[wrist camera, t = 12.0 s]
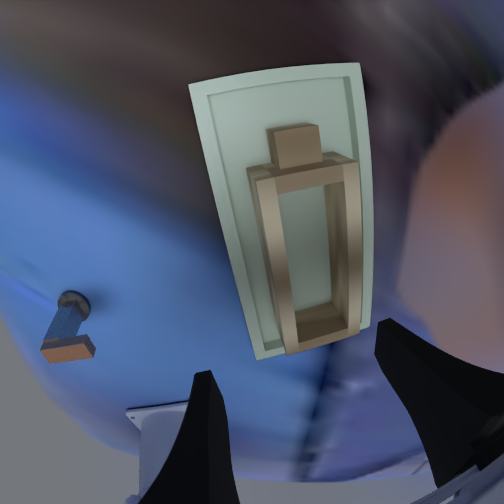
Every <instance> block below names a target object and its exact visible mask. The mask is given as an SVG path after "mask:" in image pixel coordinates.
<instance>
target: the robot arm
mask: <svg viewBox="0 0 504 504" xmlns="http://www.w3.org/2000/svg"><path fill="white" fill-rule="evenodd" d="M374 354H375V357H376V359H377V361H378V363H379V365H380V367H381V369H382V371H383V373H384V375H385V376H386V378H387V379H388V381H389V383H390V384H391V386H392V387H393V389H394V390H395V392H396V393H397V395H398V396H399V398H400V400H401V401H402V403H403V404H404V406H405V407H406V409H407V411H408V413H409V414H410V416H411V418H412V421H413V423H414V425H415V427H416V429H417V432H418V434H419V436H420V439H421V441H422V444H423V446H424V449H425V452H426V454H427V457H428V460H429V463H430V466H431V470H432V473H433V477H434V481H435V484H436V486H437V488H438V489H437V490H435V491H433V492H432V493H430V494H428V495H426V496H425V497H423V498H421V499H419V500H417V501H415V502H413V503H411V504H439V503H441V502H442V501H444V500H446V499H447V498H449V497H451V496H452V495H454V494H455V493H456V494H455V495H454V499H453V500H452V501H450V502H449V503H447V504H504V374H503V373H499V372H494V371H491V370H487V369H484V368H481V367H478V366H475V365H472V364H470V363H467V362H465V361H463V360H460V359H458V358H455V357H454V356H452V355H449V354H448V353H446V352H444V351H442V350H440V349H438V348H437V347H435V346H433V345H431V344H430V343H428V342H426V341H425V340H423V339H422V338H420V337H418V336H417V335H415V334H414V333H412V332H411V331H409V330H408V329H406V328H405V327H403V326H402V325H400V324H399V323H397V322H396V321H394V320H393V319H391V318H388V319H385V320H383V321H380V322H378V327H377V336H376V344H375V352H374ZM126 415H127V416H128V418H129V419H130V420H131V421H132V422H133V423H134V424H135V425H136V426H137V428H138V429H139V430H140V431H141V437H140V461H139V493H138V495H131V496H130V497H128V498H127V499H126V500H125V504H240V502H239V498H238V494H237V490H236V485H235V481H234V476H233V471H232V464H231V454H230V443H229V431H228V420H227V415H226V410H225V405H224V400H223V397H222V394H221V392H220V390H219V388H218V386H217V383H216V381H215V379H214V377H213V374H212V372H211V370H208V371H203V372H198V373H196V374H195V375H194V380H193V385H192V389H191V394H190V397H189V401H188V402H183V403H177V404H171V405H164V406H156V407H149V408H140V409H131V410H127V411H126Z"/></svg>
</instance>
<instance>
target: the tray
mask: <svg viewBox="0 0 504 504" xmlns="http://www.w3.org/2000/svg"><path fill="white" fill-rule="evenodd" d="M189 90H190V94H191V99H192V104H193V108H194V112H195V117H196V121H197V126H198V130H199V134H200V139H201V143H202V147H203V152H204V156H205V160H206V165H207V169H208V173H209V177H210V181H211V186H212V190H213V194H214V198H215V202H216V206H217V210H218V214H219V218H220V222H221V226H222V230H223V234H224V238H225V242H226V246H227V250H228V254H229V258H230V262H231V266H232V270H233V274H234V278H235V282H236V285H237V289H238V293H239V297H240V301H241V305H242V308H243V312H244V316H245V320H246V323H247V327H248V331H249V334H250V338H251V342H252V346H253V349H254V353H255V356H256V360H261V359H265V358H269V357H272V356H276V355H280V354H284V353H286V352H285V349H284V346H283V344H282V341H281V338H280V335H279V332H278V330H277V327H276V322H275V317H274V312H273V306H272V301H271V296H270V290H269V285H268V280H267V274H266V269H265V264H264V259H263V253H262V248H261V243H260V238H259V233H258V227H257V222H256V217H255V212H254V207H253V202H252V197H251V192H250V186H249V181H248V176H247V171H246V168H247V167H252V166H257V165H262V164H266V163H271V158H270V152H269V146H268V141H267V135H266V130H265V129H268V128H274V127H280V126H286V125H292V124H298V123H305V122H306V123H311V124H316V125H318V126H319V133H320V141H321V148H322V153H326V152H332V151H334V152H336V153H339V154H341V155H343V156H346V157H348V158H351V159H353V160H355V161H358V165H359V180H360V197H361V222H362V292H361V317H360V330H361V329H364V328H367V327H370V317H371V302H372V283H373V248H374V221H373V186H372V167H371V153H370V141H369V130H368V121H367V112H366V104H365V96H364V89H363V82H362V75H361V69H360V63H337V64H319V65H305V66H294V67H285V68H277V69H269V70H262V71H255V72H248V73H242V74H237V75H231V76H226V77H221V78H216V79H211V80H206V81H202V82H197V83H193V84H189ZM277 197H278V203H279V209H280V216H281V222H282V229H283V235H284V242H285V248H286V255H287V262H288V269H289V276H290V283H291V290H292V298H293V305H294V312H296V311H299V310H303V309H306V308H310V307H314V306H317V305H320V304H324V303H327V302H331V301H332V296H331V274H330V257H329V242H328V229H327V217H326V206H325V196H324V186H323V185H322V186H317V187H312V188H307V189H303V190H298V191H293V192H288V193H284V194H279V195H277Z"/></svg>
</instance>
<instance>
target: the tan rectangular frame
mask: <svg viewBox="0 0 504 504" xmlns="http://www.w3.org/2000/svg"><path fill="white" fill-rule="evenodd" d="M265 130H266V135H267V141H268V146H269V152H270V158H271V163H266V164H262V165H257V166H252V167H247V168H246V171H247V176H248V181H249V186H250V192H251V197H252V202H253V207H254V212H255V217H256V222H257V227H258V233H259V238H260V243H261V248H262V253H263V259H264V264H265V269H266V274H267V280H268V285H269V290H270V296H271V301H272V306H273V312H274V317H275V322H276V327H277V330H278V332H279V335H280V338H281V341H282V344H283V346H284V349H285V352H286V355H291V354H294V353H298V352H301V351H305V350H308V349H312V348H315V347H318V346H322V345H325V344H328V343H331V342H334V341H337V340H341V339H344V338H347V337H350V336H353V335H356V334H358V333H360V317H361V292H362V222H361V197H360V180H359V165H358V161H355V160H353V159H351V158H348V157H346V156H343V155H341V154H339V153H336V152H334V151H332V152H326V153H322V148H321V141H320V133H319V126H318V125H316V124H311V123H306V122H305V123H298V124H292V125H286V126H280V127H274V128H268V129H265ZM322 185H323V186H324V196H325V206H326V217H327V229H328V242H329V257H330V274H331V296H332V301H331V302H327V303H324V304H320V305H317V306H314V307H310V308H306V309H303V310H299V311H296V312H294V305H293V298H292V290H291V283H290V276H289V269H288V262H287V255H286V248H285V242H284V235H283V229H282V222H281V216H280V209H279V203H278V197H277V195H279V194H284V193H288V192H293V191H298V190H303V189H307V188H312V187H317V186H322Z"/></svg>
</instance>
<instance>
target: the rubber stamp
mask: <svg viewBox="0 0 504 504" xmlns="http://www.w3.org/2000/svg"><path fill="white" fill-rule="evenodd" d="M58 308H59V309H58V311H57V313H56V315H55V317H54V319H53V321H52V323H51V325H50V327H49V329H48V331H47V333H46V335H45V337H44V339H43V344H42V347H41V349H40V351H41V353H42V354H43V355H44V357H45V358H46V359H47V361H48V362H49V363H50V364H51V363H59V362H67V361H74V360H81V359H88V358H93V357H94V354H95V350H96V348H95V346H94V345H93V343H92V342H91V340H90V338H89V337H88V335H87V334H85V335H80V336H76V335H77V332H78V330H79V327H80V325H81V322H82V321H85V320H86V319H87V318H88V316H89V313H90V305H89V302H88V301H87V299H86V298H85V297H84V296H83V295H81V294H80V293H78V292H75V291H66V292H64V293H62V295H61V296H60V298H59V300H58Z"/></svg>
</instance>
